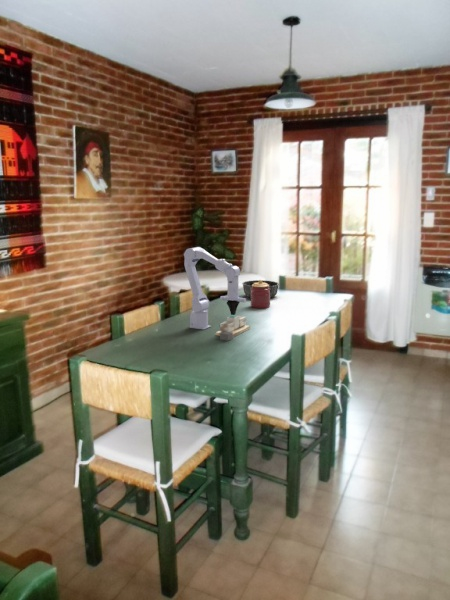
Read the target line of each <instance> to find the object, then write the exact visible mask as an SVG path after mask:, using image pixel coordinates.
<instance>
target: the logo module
mask: <svg viewBox="0 0 450 600" xmlns="http://www.w3.org/2000/svg"><path fill="white" fill-rule="evenodd" d="M239 316H240V315H236V314H235V315H231V314H230V315H229V316H227V317H226V321H227V322H234V329H236V328H238V327H239Z"/></svg>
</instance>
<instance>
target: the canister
mask: <svg viewBox="0 0 450 600" xmlns="http://www.w3.org/2000/svg"><path fill="white" fill-rule="evenodd" d="M258 280H259V281H258V282H257V283H254V284H253V285H252V288H251V298H250V307H251V308H254V309H268V308H270V307H271V298H270V288H269V287H268V286H269V285H268V284H267V283H263V282H262V279H258Z"/></svg>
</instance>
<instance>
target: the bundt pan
mask: <svg viewBox="0 0 450 600" xmlns="http://www.w3.org/2000/svg"><path fill="white" fill-rule="evenodd" d="M259 280H260V279H258V280H257V279H256V280H248V281H247V280H246V281H243V282H242V288H243V292H244V293H243V294H244V295H245V296H246V297H249V298H250V299H251V288H252V285H253V284H254V283H257V282H258V281H259ZM261 280H262V279H261ZM262 282H263V283H267V284H268V285H269V286H268V287H269V288H270V299H271V298H273V297H275V296H276V295H277V294H278V291H279V286H280V283H279V282H276V281H273V280H264V279H263V280H262Z"/></svg>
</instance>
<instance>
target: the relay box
mask: <svg viewBox="0 0 450 600" xmlns="http://www.w3.org/2000/svg"><path fill="white" fill-rule="evenodd" d="M233 338H234V337H233V335H232V332H225V331H224V332H221V333H220V336H219V340H221V341H226V342H229V341H231V340H233Z"/></svg>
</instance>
